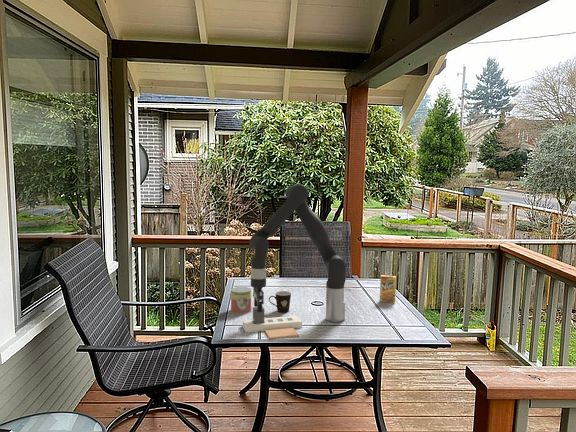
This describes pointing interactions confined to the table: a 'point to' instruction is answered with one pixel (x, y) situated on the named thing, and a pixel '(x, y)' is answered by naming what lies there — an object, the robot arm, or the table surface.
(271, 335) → the mat
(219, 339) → the table surface
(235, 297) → the canned food
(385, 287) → the candy box
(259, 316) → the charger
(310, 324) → the table surface
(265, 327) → the power strip
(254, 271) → the robot arm
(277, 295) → the coffee mug
